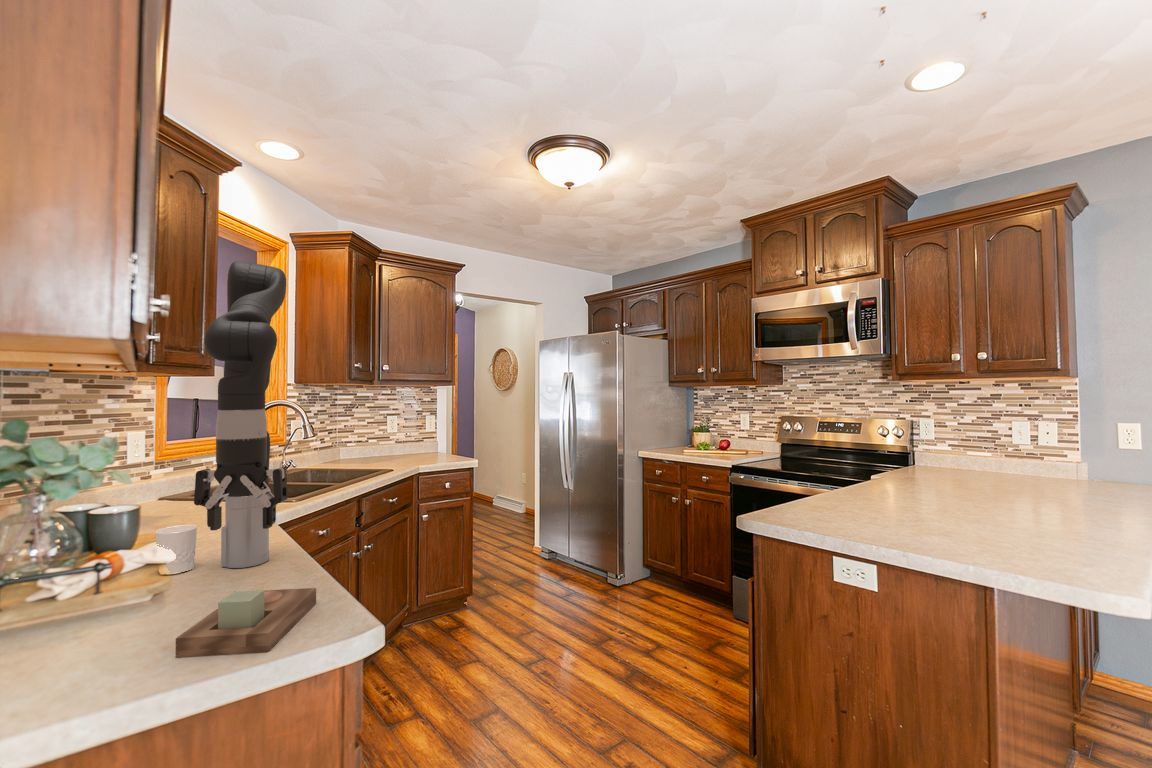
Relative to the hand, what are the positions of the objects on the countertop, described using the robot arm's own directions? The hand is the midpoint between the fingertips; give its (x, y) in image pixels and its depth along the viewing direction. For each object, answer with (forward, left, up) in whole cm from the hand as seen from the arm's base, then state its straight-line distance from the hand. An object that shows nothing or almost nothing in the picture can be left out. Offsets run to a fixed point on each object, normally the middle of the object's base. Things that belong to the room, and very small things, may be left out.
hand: (241, 528), depth 92 cm
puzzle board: (+1, +3, -18) cm, 19 cm away
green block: (+1, -1, -17) cm, 17 cm away
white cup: (-33, +38, -19) cm, 54 cm away
